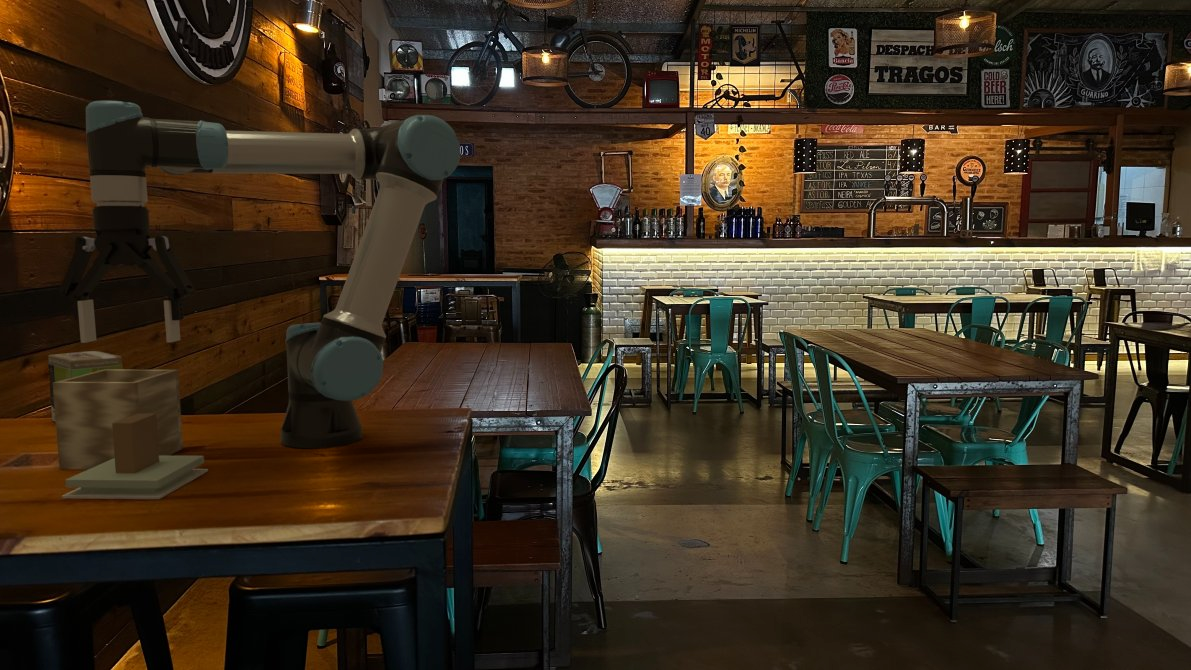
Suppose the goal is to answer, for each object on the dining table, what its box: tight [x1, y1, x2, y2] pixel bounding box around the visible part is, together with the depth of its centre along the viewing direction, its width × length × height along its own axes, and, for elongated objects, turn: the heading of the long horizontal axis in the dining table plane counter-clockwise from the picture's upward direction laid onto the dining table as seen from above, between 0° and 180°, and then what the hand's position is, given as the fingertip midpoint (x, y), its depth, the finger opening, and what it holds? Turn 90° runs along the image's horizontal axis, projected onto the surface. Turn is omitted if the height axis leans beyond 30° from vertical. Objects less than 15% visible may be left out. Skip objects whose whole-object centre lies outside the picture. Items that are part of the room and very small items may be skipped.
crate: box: [53, 369, 184, 470], centre depth 147 cm, size 14×14×15 cm
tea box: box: [47, 350, 124, 423], centre depth 175 cm, size 15×10×15 cm, turn 49°
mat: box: [61, 468, 209, 500], centre depth 133 cm, size 15×15×1 cm
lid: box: [64, 414, 205, 493], centre depth 132 cm, size 14×14×10 cm
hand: (131, 341), depth 130 cm, fingers open, 13 cm apart
